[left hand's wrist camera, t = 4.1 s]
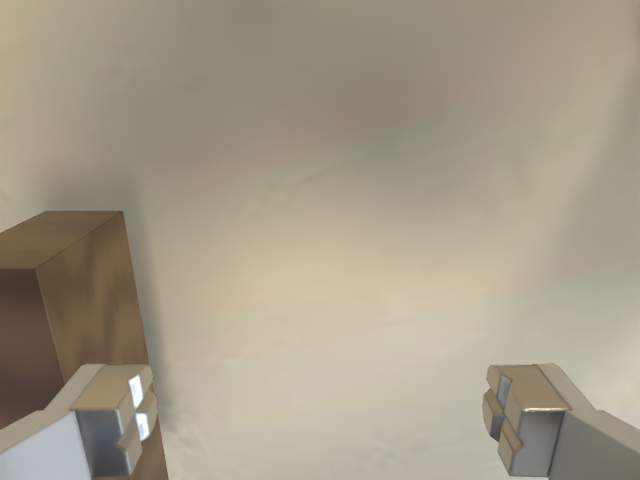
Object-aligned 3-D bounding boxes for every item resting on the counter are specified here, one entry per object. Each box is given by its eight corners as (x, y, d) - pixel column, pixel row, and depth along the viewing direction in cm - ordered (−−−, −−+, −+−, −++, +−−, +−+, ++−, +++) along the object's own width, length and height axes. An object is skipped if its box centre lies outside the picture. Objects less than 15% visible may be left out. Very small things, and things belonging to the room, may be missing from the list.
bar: (45, 211, 29) (-77, 269, 20) (122, 210, 29) (35, 268, 20) (108, 479, 37) (42, 603, 28) (169, 479, 37) (121, 603, 28)
